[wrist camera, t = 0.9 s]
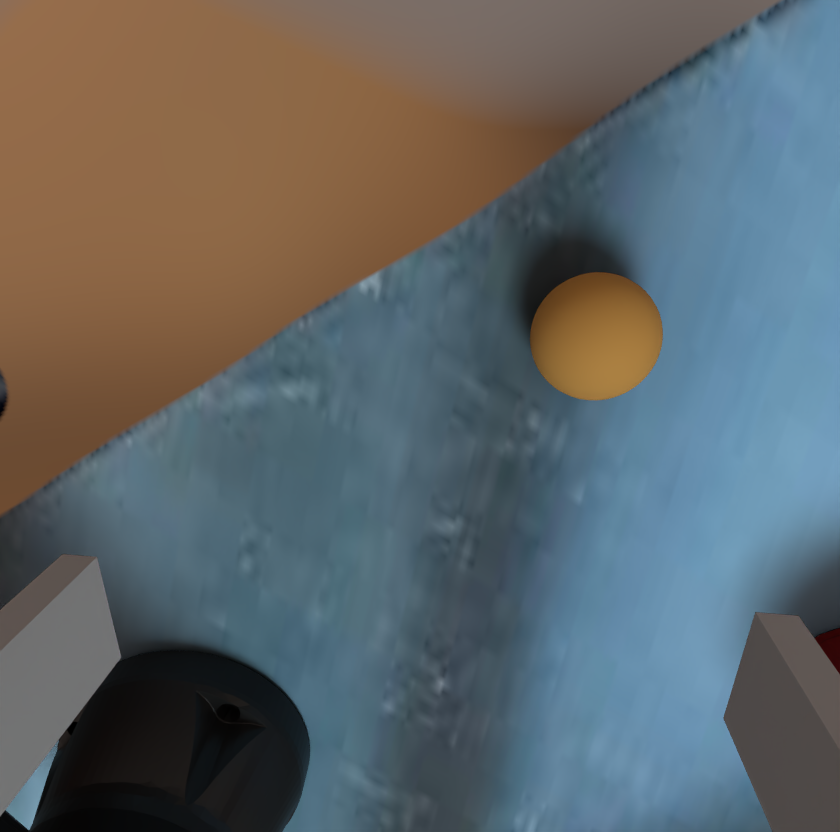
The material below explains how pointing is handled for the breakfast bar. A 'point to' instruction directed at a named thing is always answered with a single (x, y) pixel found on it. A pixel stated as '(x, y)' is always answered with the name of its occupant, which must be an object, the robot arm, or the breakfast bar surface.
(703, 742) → the breakfast bar surface
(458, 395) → the breakfast bar surface
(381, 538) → the breakfast bar surface
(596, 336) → the ball
